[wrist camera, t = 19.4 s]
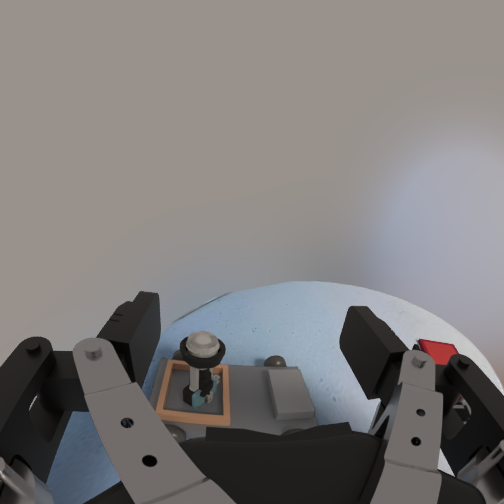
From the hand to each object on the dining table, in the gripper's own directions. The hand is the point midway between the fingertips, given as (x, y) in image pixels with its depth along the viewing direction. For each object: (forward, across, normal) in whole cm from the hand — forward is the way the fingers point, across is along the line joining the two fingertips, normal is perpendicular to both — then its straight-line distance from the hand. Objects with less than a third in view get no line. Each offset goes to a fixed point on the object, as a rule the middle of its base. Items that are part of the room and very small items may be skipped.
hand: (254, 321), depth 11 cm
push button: (+16, +3, +23) cm, 28 cm away
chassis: (+17, -1, +25) cm, 30 cm away
